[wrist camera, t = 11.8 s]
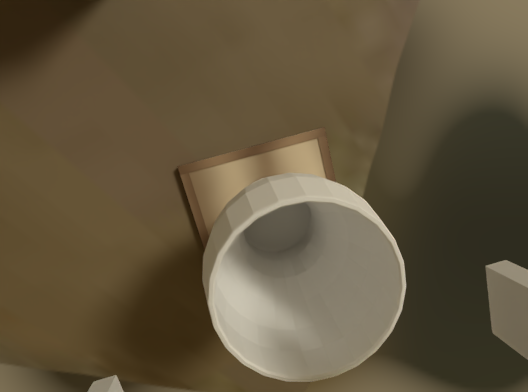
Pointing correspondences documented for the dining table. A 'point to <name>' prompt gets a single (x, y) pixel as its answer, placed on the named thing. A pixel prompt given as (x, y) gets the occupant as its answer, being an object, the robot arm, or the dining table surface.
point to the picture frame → (250, 172)
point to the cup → (302, 278)
